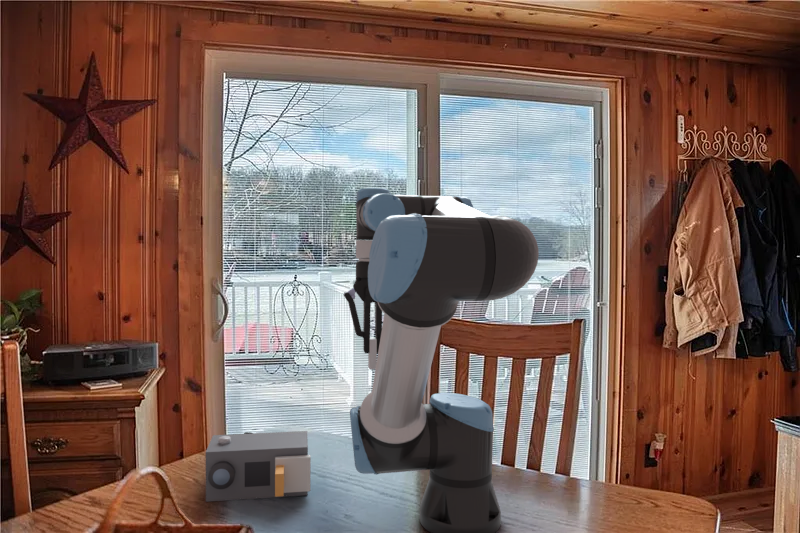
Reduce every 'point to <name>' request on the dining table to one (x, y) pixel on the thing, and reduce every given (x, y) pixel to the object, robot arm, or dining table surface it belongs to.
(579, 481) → the dining table surface
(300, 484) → the door
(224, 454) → the housing
